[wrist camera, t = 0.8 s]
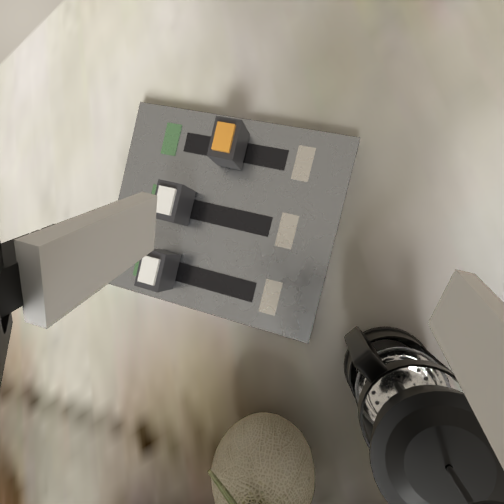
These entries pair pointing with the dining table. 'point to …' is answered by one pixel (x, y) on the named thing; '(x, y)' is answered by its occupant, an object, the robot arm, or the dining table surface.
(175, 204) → the breaker middle
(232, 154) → the orange and grey switch
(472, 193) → the dining table surface
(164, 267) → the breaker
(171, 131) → the panel
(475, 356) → the robot arm
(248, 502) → the fruit
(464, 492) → the french press
